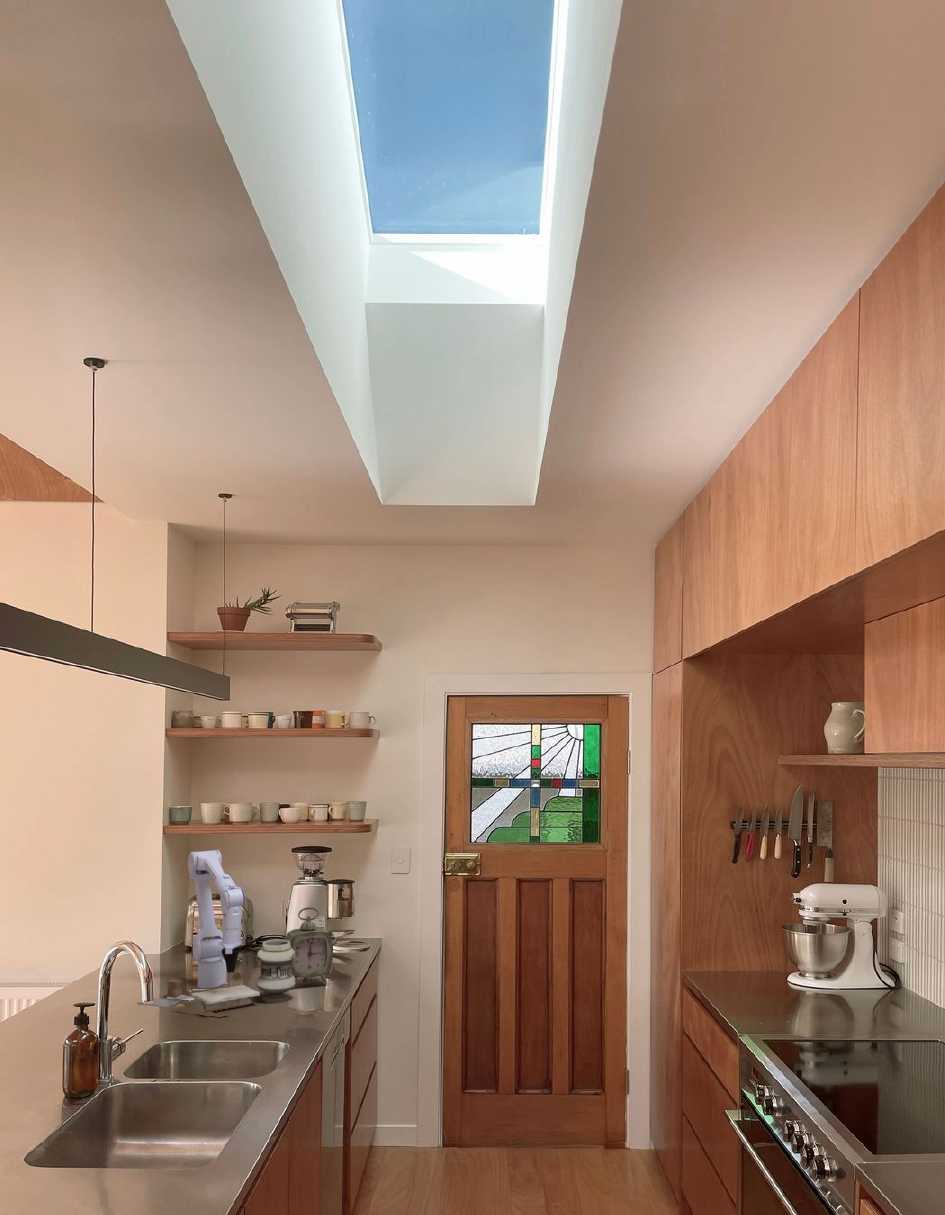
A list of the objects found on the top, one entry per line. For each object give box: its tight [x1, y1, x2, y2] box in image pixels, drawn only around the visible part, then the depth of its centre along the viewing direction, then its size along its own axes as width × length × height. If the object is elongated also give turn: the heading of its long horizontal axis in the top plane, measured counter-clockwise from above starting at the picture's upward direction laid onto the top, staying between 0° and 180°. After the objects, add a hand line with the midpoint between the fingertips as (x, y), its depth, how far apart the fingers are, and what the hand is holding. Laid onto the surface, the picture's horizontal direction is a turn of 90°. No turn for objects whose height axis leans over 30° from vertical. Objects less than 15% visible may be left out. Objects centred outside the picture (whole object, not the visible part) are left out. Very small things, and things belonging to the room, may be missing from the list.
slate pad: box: [136, 997, 180, 1008], centre depth 328 cm, size 6×11×1 cm, turn 69°
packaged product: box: [191, 984, 261, 1013], centre depth 324 cm, size 18×5×10 cm
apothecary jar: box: [256, 938, 297, 1004], centre depth 333 cm, size 12×12×18 cm
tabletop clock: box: [284, 906, 333, 989], centre depth 352 cm, size 14×9×25 cm, turn 114°
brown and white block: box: [165, 978, 195, 1002], centre depth 334 cm, size 9×4×5 cm, turn 70°
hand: (230, 972), depth 336 cm, fingers closed
